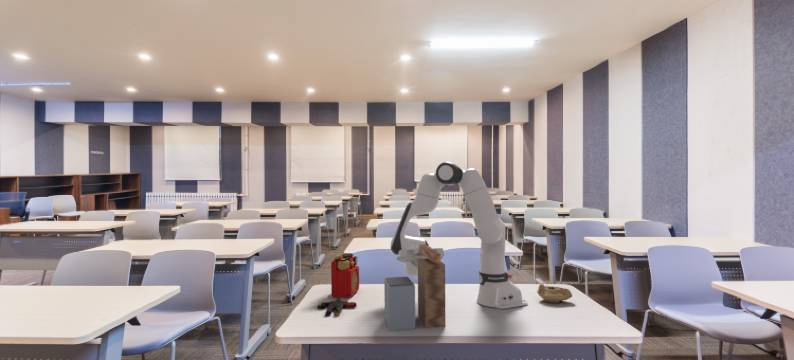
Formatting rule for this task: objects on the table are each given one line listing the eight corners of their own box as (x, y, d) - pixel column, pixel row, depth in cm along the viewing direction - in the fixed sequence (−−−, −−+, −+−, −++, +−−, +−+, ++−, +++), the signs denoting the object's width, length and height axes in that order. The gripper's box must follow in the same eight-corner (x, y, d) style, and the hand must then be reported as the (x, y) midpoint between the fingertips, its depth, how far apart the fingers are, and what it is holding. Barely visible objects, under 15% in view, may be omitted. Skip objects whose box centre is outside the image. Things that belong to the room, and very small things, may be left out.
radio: (350, 299, 178) (350, 257, 178) (330, 298, 180) (330, 256, 180) (360, 289, 193) (360, 251, 193) (341, 288, 195) (341, 250, 195)
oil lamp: (576, 305, 168) (576, 287, 168) (543, 305, 167) (543, 287, 167) (564, 297, 179) (564, 280, 179) (534, 297, 178) (533, 281, 178)
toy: (358, 307, 167) (358, 301, 167) (334, 319, 153) (334, 312, 153) (332, 302, 175) (332, 295, 175) (307, 312, 161) (307, 306, 161)
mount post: (436, 315, 156) (436, 258, 156) (445, 326, 144) (445, 264, 144) (418, 316, 154) (417, 258, 154) (425, 327, 142) (425, 265, 142)
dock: (408, 317, 153) (408, 276, 154) (415, 328, 142) (414, 284, 142) (384, 319, 152) (384, 277, 152) (389, 330, 140) (389, 285, 140)
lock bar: (425, 251, 163) (425, 244, 163) (440, 261, 141) (440, 254, 141) (419, 251, 163) (419, 244, 163) (432, 262, 141) (432, 254, 141)
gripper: (395, 253, 171) (399, 242, 159) (438, 251, 174) (445, 240, 163) (396, 267, 167) (401, 256, 156) (440, 264, 171) (448, 254, 159)
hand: (424, 248), depth 159 cm, fingers closed on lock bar, 3 cm apart
